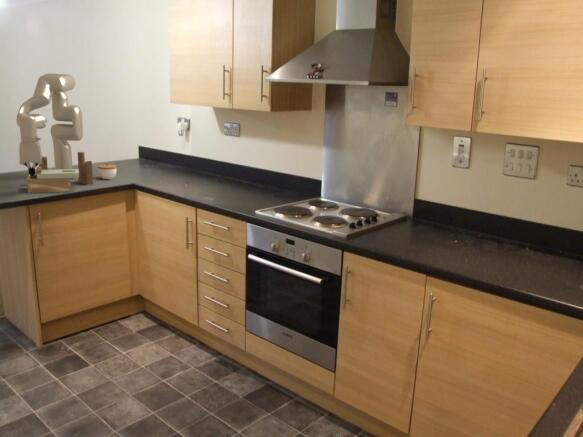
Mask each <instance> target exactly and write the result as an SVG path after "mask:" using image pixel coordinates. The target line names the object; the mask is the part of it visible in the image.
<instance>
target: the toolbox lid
mask: <svg viewBox="0 0 583 437" xmlns="http://www.w3.org/2000/svg"><path fill="white" fill-rule="evenodd" d="M36 175H37V179H45V178H71V179H75V178H77V179H78V178H79V168H73V169H57V170H55V169H48V170H42V166H39V165H38V166H36Z"/></svg>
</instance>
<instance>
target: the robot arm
mask: <svg viewBox="0 0 583 437" xmlns="http://www.w3.org/2000/svg"><path fill="white" fill-rule="evenodd" d="M75 86H76V79H75V77H74V76H73V75H71V74H69V73H68V74H64V73H45V74H43V75H41V76H39V78H38V80H37V82H36V85H35V88H34V92H33V95H32V96H31V97H30V98H28V99H27V100H26V101H24V102H23V103H22V104H21V105H20V106H19V109H18V112H17V115H16V124H17V126H18V128H19V130H20V131H19V132H20V134H19V135H20V142H19V145H18V146H19V149H18V152H19V153H18V154H19V157H18V158H19V165H21V166H25V167H26V168H27V169H28V175H30V176H34V175H36V168H37V167H38V166H39V165H40V164H42V163H43V162H42V157H43V156H42V149H41V148H42V147H41V144H40V142H38V141H41V137H39V136H38V131H37V130H41V129H45V128H46V127H47V124H48V118H47V117H46V116H45V115H43V114H41V113H40V114H39V113H31V112H32V111H34V110H35V111H36V110H38V109H40V108H44V107H47V106H48V105H50V102H51V110H52V111H51V112H52V118H53V119H54V120H55V121H57V122H68V123H55V124H52V126H51V127H50V135H51V139H52V143H53V144H52V146H53V158H54V170H57V169H74V168H73V156H72V147H71V145H70V143H69V142H71V141H76V142H78V141H79V142H80V141H81V140H82V139H83V137H84V136H83V135H84V130H83V129H84V127H83V126H84V125H83V112H82V109H81V107H79V105H74V104H69V102H68V100H69V99H68V95H67V93H66V92H68V91H72V90H73V89H74V88H75ZM71 123H72V124H71ZM68 141H69V142H68ZM31 163H32V166H31ZM71 179H72V178H70V180H71Z"/></svg>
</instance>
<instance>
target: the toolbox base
mask: <svg viewBox="0 0 583 437" xmlns="http://www.w3.org/2000/svg"><path fill="white" fill-rule="evenodd" d="M26 182H27V192H28V194H29V193H34V194H35V193H54V192H56V193H58V192H59V193H61V192H71V179H70V178H45V179H37V174H34V176H30V174H28V175H27V179H26Z"/></svg>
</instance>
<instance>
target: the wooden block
mask: <svg viewBox="0 0 583 437" xmlns="http://www.w3.org/2000/svg"><path fill="white" fill-rule="evenodd" d="M85 158H86V157H85V152H84V151H78V152H77V165H78V166H77V169H79V178H77V182H78V183H79V184H83V185H85V186H90V185H91V186H92V185H94V182H93V180H94V179H93V163H92V162H93V161H92V160H89V161H88V160H87V161H86V159H85Z"/></svg>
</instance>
